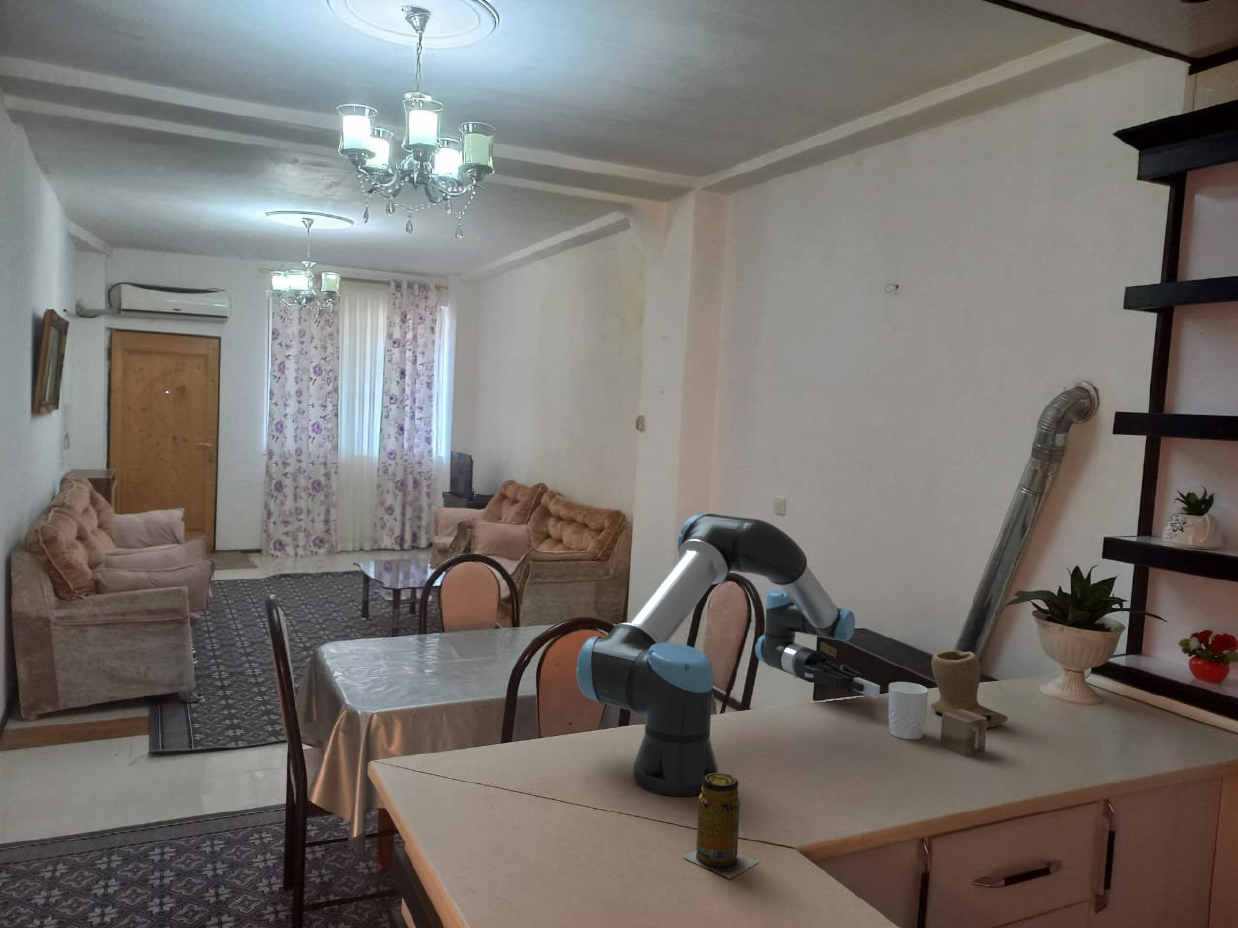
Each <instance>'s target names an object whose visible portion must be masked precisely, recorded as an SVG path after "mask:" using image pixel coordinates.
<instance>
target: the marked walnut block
mask: <svg viewBox="0 0 1238 928" xmlns="http://www.w3.org/2000/svg"><path fill="white" fill-rule="evenodd" d="M986 727H987V718H985V717H982V716H979V715H977V714H974V713H971V712H969V711H966V710H963V709H960V710H955V711H950V712H945V713H941V726H940V729H941V730H940V743H939V745H940V746H941V747H940V748H943V749H946V750H948V751H951V752H952V753H954V754H957V755H959V756H962V757H963V758H966V757H970V756H974V755H978V754H979V755H980V754H983V753H984V754H985V752H986V742H987V741H986V739H987V728H986Z"/></svg>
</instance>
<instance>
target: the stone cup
mask: <svg viewBox="0 0 1238 928" xmlns="http://www.w3.org/2000/svg"><path fill="white" fill-rule="evenodd" d="M930 664H931V670H932V674H933V677H934V680H935V683H936V686H937V688H938V691H939V699H938V700H937V701H934V702H932V703H931V704H930V707H931V709H932V710H933V711H935V712H938V713H939V714H942V713H945V712H950V711H955V710H960V709H963V710H966V711H969V712H971V713H974V714H977V715H979V716H982V717H985V718H987V727H986V729H987V728H993V727H997V726H1000V725H1002V724H1004V723H1006V722H1007V721H1008V719H1009V718H1008V716H1007V714H1006V715H1005V714H1003V713H1001V712H998V711H995V710H992V709H990V708H988V707H985V706H983V705H981V704H979V702H978V691H979V686H980V680H981V663H980V660H979V658H978V656H977V655H976V653H974V652H972V651H965V652H964V651H961V650H958V649H951V650H950V649H948V650H943V651H939V652H936V653H935V654H933V656H932V657H931V663H930Z"/></svg>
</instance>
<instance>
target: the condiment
mask: <svg viewBox="0 0 1238 928" xmlns="http://www.w3.org/2000/svg"><path fill="white" fill-rule="evenodd" d="M738 787H739V781H738V780H737V778H736V777H734V776H733V775H730V774H728V773H723V772H718V773H711V774H708V775H706V776H705V777H704V778H703V781H702V793H701V794H699V796H698V805H697V807H698V808H697V811H698V812H697V824H696V827H697V829H696V847H695V848H696V849H695V850H694V851H692V852H689V853H687V854H685V855H683V859H684V858H685V859H686V860H688V861H690V862H692V863H694V864H696V865H698V866H701V867H702V868H705V869H709V870H711V872H715V874H719V875H721V876H724V877H726V878H728V879H731V878H734V877H735V876H738V875H739V874H741V873H744V872H745V871H747V870H748V869H749V868H752V867H754V866H755V865H756V864H758V863H759V861H758V860H756V859H753V858H751V857H749V856H747V855H744V854H743V853H740V852H738V845H739V828H740V827H739V824H740V806H741V804H740V803H741V802H740V798H739V796H738V795H739V790H738Z"/></svg>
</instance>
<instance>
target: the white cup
mask: <svg viewBox="0 0 1238 928" xmlns="http://www.w3.org/2000/svg"><path fill="white" fill-rule="evenodd" d="M928 696H929V689H928V688H927V687H926V686H923V685H921V684H918V683H913V682H907V681H896V682H895V681H894V682H890V683H889V684H888V720H889V721H888V732H889V733H890V735H891V736H894V737H896V738H898V739H902V740H903V739H904V740H910V741H911V740H919V739H922V738H923V735H924V726H925V722H926V716H927V715H926V714H927V704H928Z"/></svg>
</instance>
